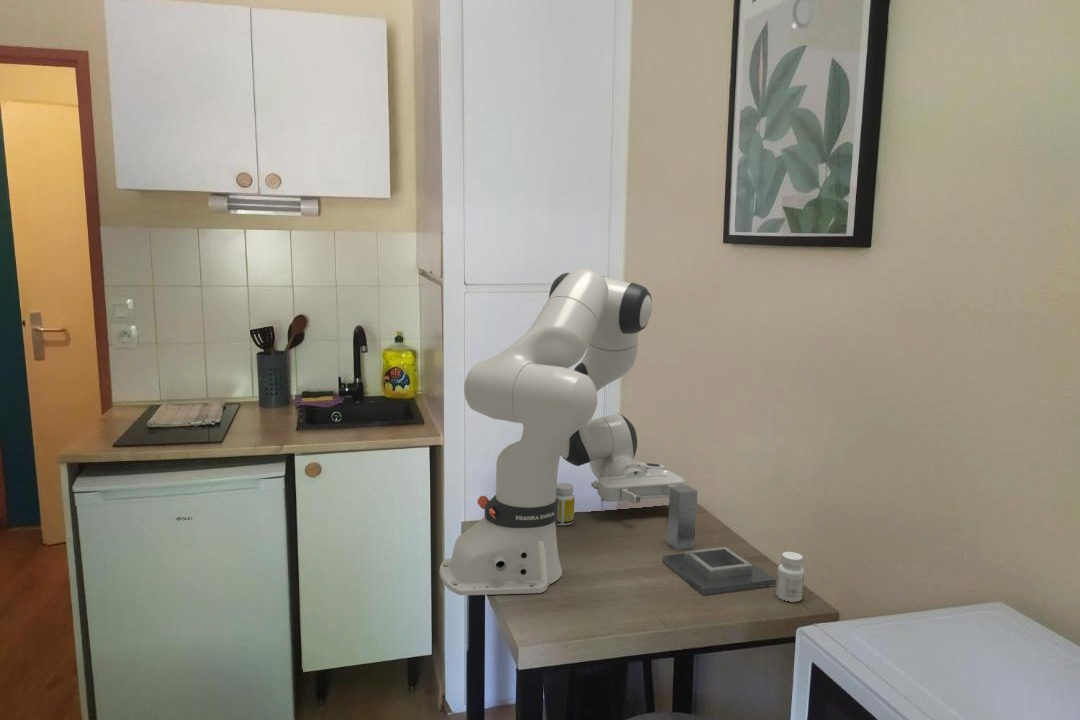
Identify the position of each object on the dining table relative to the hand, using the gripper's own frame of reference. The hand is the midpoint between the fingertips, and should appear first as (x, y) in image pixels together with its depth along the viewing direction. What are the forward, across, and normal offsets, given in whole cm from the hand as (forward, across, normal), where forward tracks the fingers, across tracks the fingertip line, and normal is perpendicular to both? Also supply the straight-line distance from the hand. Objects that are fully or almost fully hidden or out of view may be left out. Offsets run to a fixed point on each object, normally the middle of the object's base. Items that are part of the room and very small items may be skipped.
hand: (656, 498), depth 165 cm
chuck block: (+25, 0, +6) cm, 26 cm away
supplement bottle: (-7, -19, +7) cm, 21 cm away
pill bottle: (+37, +7, +7) cm, 38 cm away
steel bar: (+11, 0, +6) cm, 13 cm away
